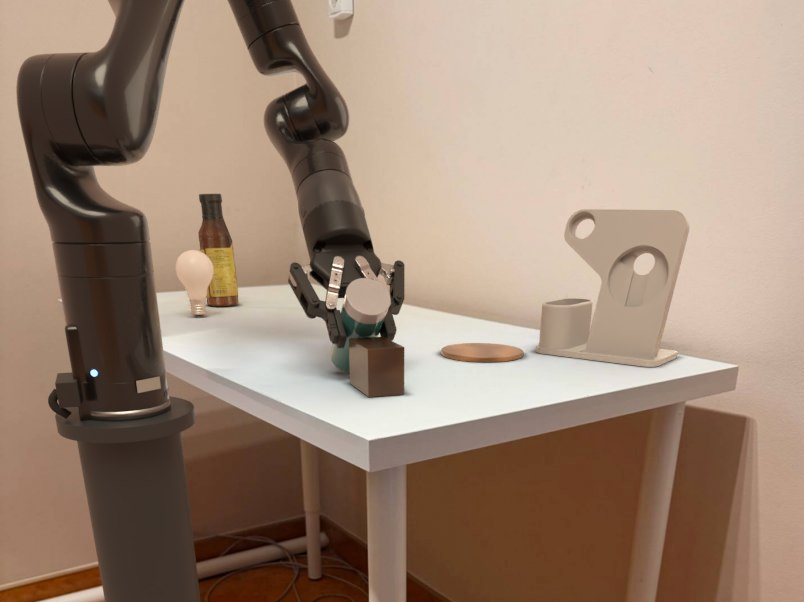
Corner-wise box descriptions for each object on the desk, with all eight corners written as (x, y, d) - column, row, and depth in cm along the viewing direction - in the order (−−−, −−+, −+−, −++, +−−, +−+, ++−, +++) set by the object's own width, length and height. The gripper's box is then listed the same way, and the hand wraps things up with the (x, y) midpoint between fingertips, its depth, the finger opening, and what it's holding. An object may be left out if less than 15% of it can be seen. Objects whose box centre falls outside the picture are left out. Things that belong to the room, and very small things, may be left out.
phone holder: (529, 352, 104) (540, 208, 97) (562, 342, 112) (574, 208, 104) (653, 367, 95) (676, 210, 87) (680, 356, 102) (703, 210, 95)
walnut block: (368, 397, 79) (367, 349, 77) (349, 383, 85) (348, 338, 83) (404, 394, 81) (404, 346, 79) (383, 381, 87) (383, 336, 85)
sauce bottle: (245, 305, 149) (237, 193, 141) (221, 308, 144) (211, 193, 136) (222, 302, 152) (212, 193, 144) (198, 305, 147) (186, 193, 139)
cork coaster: (461, 364, 96) (461, 359, 96) (429, 349, 105) (429, 345, 105) (538, 359, 99) (538, 354, 99) (500, 345, 109) (500, 341, 109)
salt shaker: (352, 388, 83) (350, 281, 78) (326, 369, 92) (323, 272, 88) (395, 385, 84) (395, 280, 80) (365, 366, 94) (363, 271, 89)
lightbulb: (188, 320, 129) (181, 251, 125) (175, 315, 134) (167, 249, 129) (223, 317, 133) (217, 250, 128) (209, 313, 137) (203, 248, 133)
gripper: (383, 244, 95) (416, 359, 90) (270, 246, 91) (297, 366, 85) (398, 198, 89) (434, 318, 83) (276, 197, 84) (306, 324, 79)
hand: (365, 342), depth 84 cm, fingers closed on salt shaker, 4 cm apart
